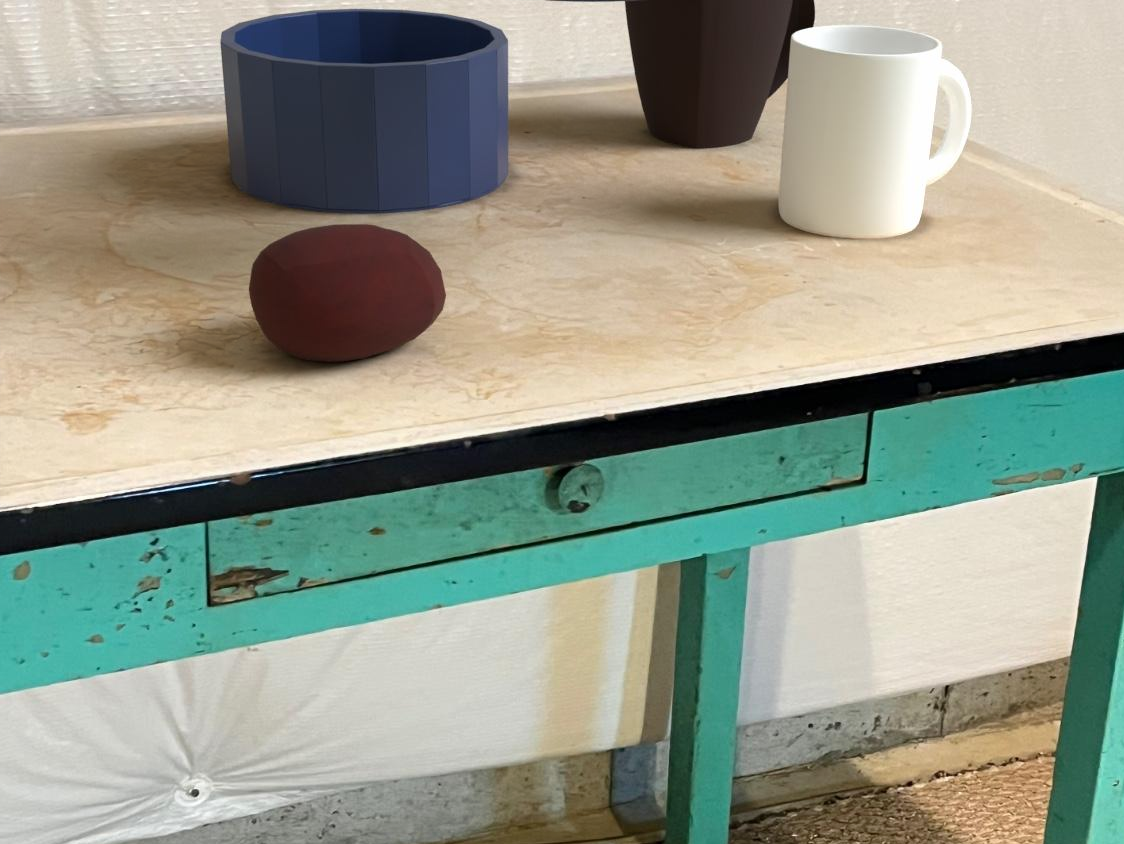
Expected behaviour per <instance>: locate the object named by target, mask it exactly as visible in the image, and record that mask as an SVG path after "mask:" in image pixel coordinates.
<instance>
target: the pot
mask: <svg viewBox="0 0 1124 844" xmlns="http://www.w3.org/2000/svg"><path fill="white" fill-rule="evenodd" d="M220 35H221V36H220V43H219V44H220V55H221V66H222V69H221V70H222V81H223V91H224V104H225V116H226V117H225V118H226V129H227V130H226V131H227V141H228V151H229V152H228V153H229V154H228V155H229V163H230V164H229V165H230V176H231V180H232V182H233V184H234V185H235V186H236V187H237V188H238V190H239V191H242V192H243V193H245V194H246V195H249V196H250V197H253V198H255V199H258V200H260V201H263V202H266V203H270V204H273V205H279V206H282V207H287V208H293V209H299V210H304V211H313V212H322V213H323V212H324V213H335V214H336V213H338V214H370V215H371V214H372V215H373V214H396V213H411V212H420V211H428V210H434V209H440V208H446V207H451V206H456V205H460V204H463V203H468V202H471V201H474V200H477V199H480V198H483V197H485V196H487V195H489V194H491V193H493V192H495V191H496V190H498V189H499V188H501V186H502V185H503V184H504V183H505V181H506V179H507V176H508V175H509V40H508V37H507V36H506V34H505V32H504V31H503V30H502V29H501V28H499V27H496V26H494V25H491V24H489V23H487V22H485V21H482V20H477V19H473V18H468V17H463V16H458V15H453V14H449V13H441V12H440V13H439V12H430V11H418V10H410V9H390V8H389V9H387V8H385V9H384V8H383V9H382V8H339V9H336V8H335V9H313V10H305V11H296V12H288V13H279V14H272V15H267V16H263V17H262V16H261V17H259V18H253V19H249V20H245V21H242V22H241V21H240V22H238V23H236V24H234V25H232V26H230V27H228V28H226V29H224V30H222V31H221V34H220Z"/></svg>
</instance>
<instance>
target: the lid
mask: <svg viewBox="0 0 1124 844" xmlns="http://www.w3.org/2000/svg"><path fill="white" fill-rule="evenodd" d="M546 1H548V2H573V3H575V2H576V3H577V2H579V3H585V2H586V3H598V2H599V3H604V2H605V3H610V2H612V3H613V2H625V1H636V0H546Z"/></svg>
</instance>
